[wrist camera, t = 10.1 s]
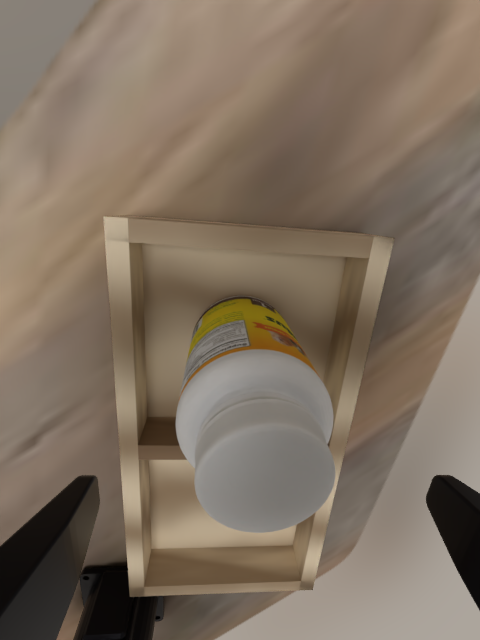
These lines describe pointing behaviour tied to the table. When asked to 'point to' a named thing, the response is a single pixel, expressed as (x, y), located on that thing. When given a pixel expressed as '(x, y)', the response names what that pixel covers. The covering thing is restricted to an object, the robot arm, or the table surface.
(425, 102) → the table surface
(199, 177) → the table surface
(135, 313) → the wooden divided tray
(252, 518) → the supplement bottle
